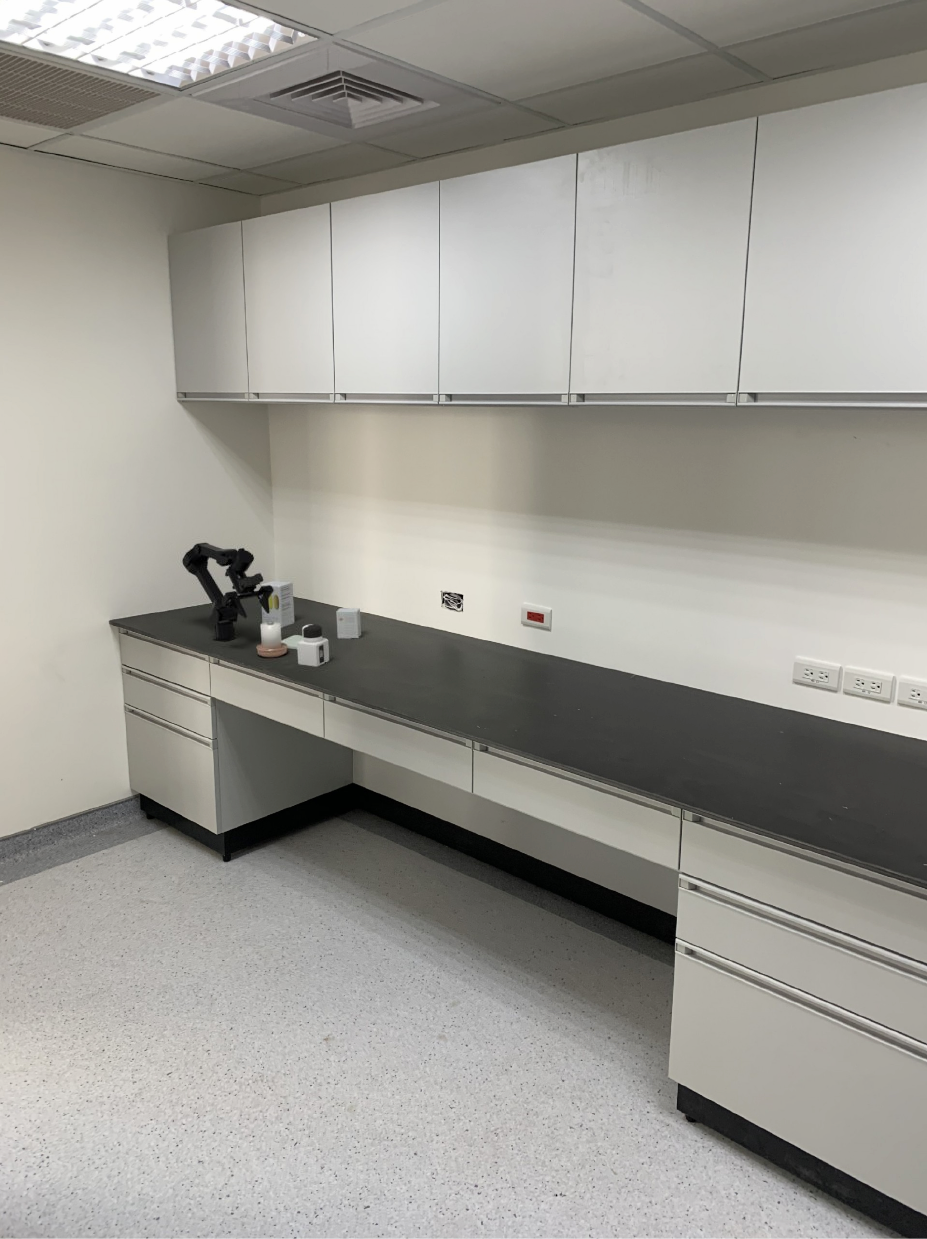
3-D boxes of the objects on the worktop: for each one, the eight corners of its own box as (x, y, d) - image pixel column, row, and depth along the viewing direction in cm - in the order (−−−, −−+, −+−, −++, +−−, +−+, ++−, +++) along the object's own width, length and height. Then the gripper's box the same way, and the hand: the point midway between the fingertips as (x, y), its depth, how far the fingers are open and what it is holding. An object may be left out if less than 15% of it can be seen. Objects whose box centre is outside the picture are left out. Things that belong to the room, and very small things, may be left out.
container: (329, 661, 302) (328, 624, 299) (316, 667, 295) (315, 629, 292) (310, 658, 305) (308, 622, 302) (297, 664, 298) (295, 627, 295)
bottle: (258, 647, 308) (256, 622, 305) (269, 642, 314) (267, 618, 311) (274, 649, 305) (272, 624, 303) (285, 644, 311) (284, 620, 309)
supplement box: (261, 626, 349) (259, 584, 345) (275, 620, 358) (272, 580, 354) (282, 628, 346) (280, 586, 342) (295, 622, 354) (293, 581, 350)
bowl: (250, 656, 307) (250, 648, 307) (268, 649, 317) (268, 641, 316) (276, 660, 303) (275, 651, 302) (293, 652, 313) (293, 644, 312)
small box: (361, 635, 335) (360, 608, 332) (358, 638, 330) (357, 611, 327) (340, 634, 336) (339, 607, 333) (337, 638, 330) (336, 611, 328)
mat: (273, 646, 320) (273, 644, 320) (294, 636, 333) (294, 634, 333) (305, 650, 315) (305, 648, 315) (326, 640, 327) (326, 638, 327)
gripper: (223, 570, 304) (242, 607, 300) (270, 563, 317) (288, 598, 313) (213, 588, 312) (231, 624, 307) (258, 580, 324) (276, 615, 320)
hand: (257, 615), depth 312 cm, fingers open, 9 cm apart
